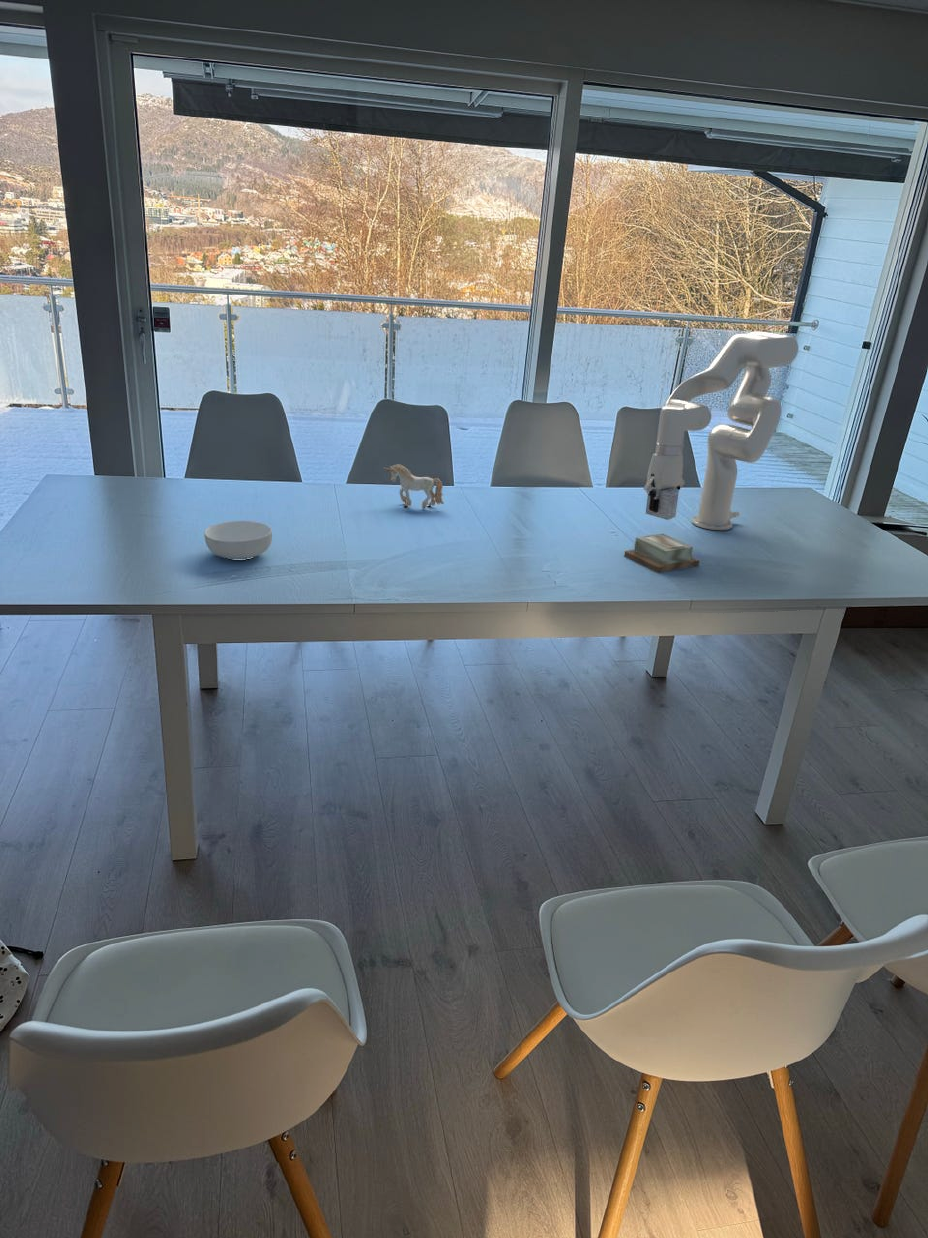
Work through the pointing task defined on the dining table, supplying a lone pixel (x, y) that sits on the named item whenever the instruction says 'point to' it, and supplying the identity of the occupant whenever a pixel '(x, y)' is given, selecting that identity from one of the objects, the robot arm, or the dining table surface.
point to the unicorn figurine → (416, 485)
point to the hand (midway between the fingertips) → (661, 508)
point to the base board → (656, 565)
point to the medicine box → (665, 504)
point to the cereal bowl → (238, 539)
